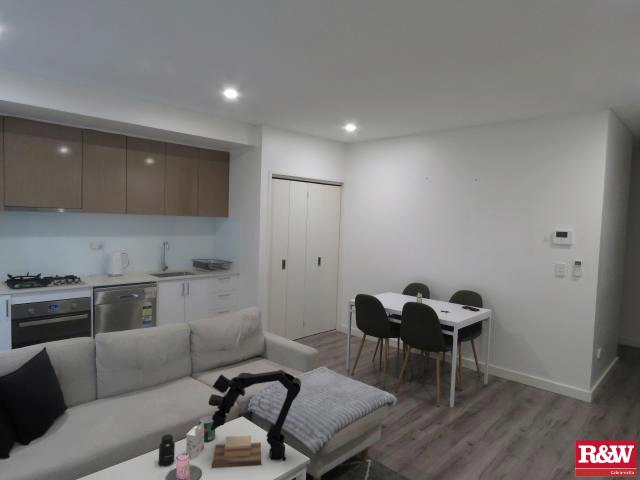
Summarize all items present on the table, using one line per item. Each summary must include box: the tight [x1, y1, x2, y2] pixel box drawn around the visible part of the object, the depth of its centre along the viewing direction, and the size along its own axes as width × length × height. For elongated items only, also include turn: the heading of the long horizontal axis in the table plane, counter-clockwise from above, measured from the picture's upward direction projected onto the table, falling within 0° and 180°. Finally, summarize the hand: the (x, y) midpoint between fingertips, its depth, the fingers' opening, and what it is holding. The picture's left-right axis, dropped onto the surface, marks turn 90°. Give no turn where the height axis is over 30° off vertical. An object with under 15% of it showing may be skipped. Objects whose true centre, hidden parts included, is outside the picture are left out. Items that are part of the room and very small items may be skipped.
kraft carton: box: [224, 435, 252, 457], centre depth 196 cm, size 9×12×5 cm
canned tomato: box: [198, 415, 216, 443], centre depth 207 cm, size 8×8×11 cm
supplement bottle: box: [158, 434, 176, 467], centre depth 187 cm, size 7×7×12 cm
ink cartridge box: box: [186, 421, 205, 459], centre depth 194 cm, size 9×5×15 cm, turn 168°
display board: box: [211, 442, 262, 469], centre depth 194 cm, size 19×22×3 cm
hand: (213, 424), depth 194 cm, fingers open, 9 cm apart
